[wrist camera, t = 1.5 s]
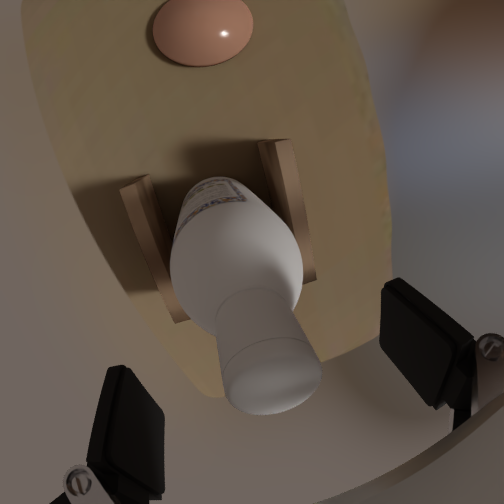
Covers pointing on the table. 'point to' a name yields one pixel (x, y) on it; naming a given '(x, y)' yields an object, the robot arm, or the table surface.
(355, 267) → the table surface
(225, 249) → the bath foam
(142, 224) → the shelf bay
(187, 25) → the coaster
